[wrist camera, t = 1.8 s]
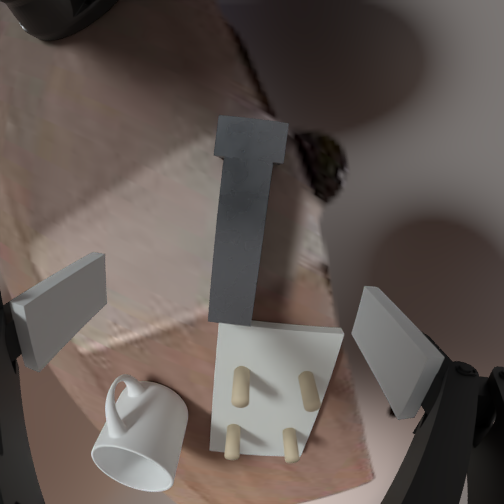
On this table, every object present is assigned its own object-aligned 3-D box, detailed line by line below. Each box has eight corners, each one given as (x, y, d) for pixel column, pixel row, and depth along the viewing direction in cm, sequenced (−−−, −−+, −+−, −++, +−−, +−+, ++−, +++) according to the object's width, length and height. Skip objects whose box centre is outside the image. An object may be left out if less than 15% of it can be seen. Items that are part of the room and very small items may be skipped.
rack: (220, 316, 28) (213, 349, 23) (341, 328, 29) (357, 360, 23) (210, 443, 34) (205, 476, 28) (299, 449, 34) (304, 481, 28)
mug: (166, 351, 30) (135, 422, 19) (198, 426, 33) (185, 494, 22) (100, 356, 30) (58, 416, 20) (138, 426, 33) (115, 487, 23)
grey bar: (224, 123, 24) (219, 115, 20) (283, 130, 24) (288, 123, 20) (205, 300, 28) (198, 320, 24) (258, 306, 28) (259, 327, 24)
